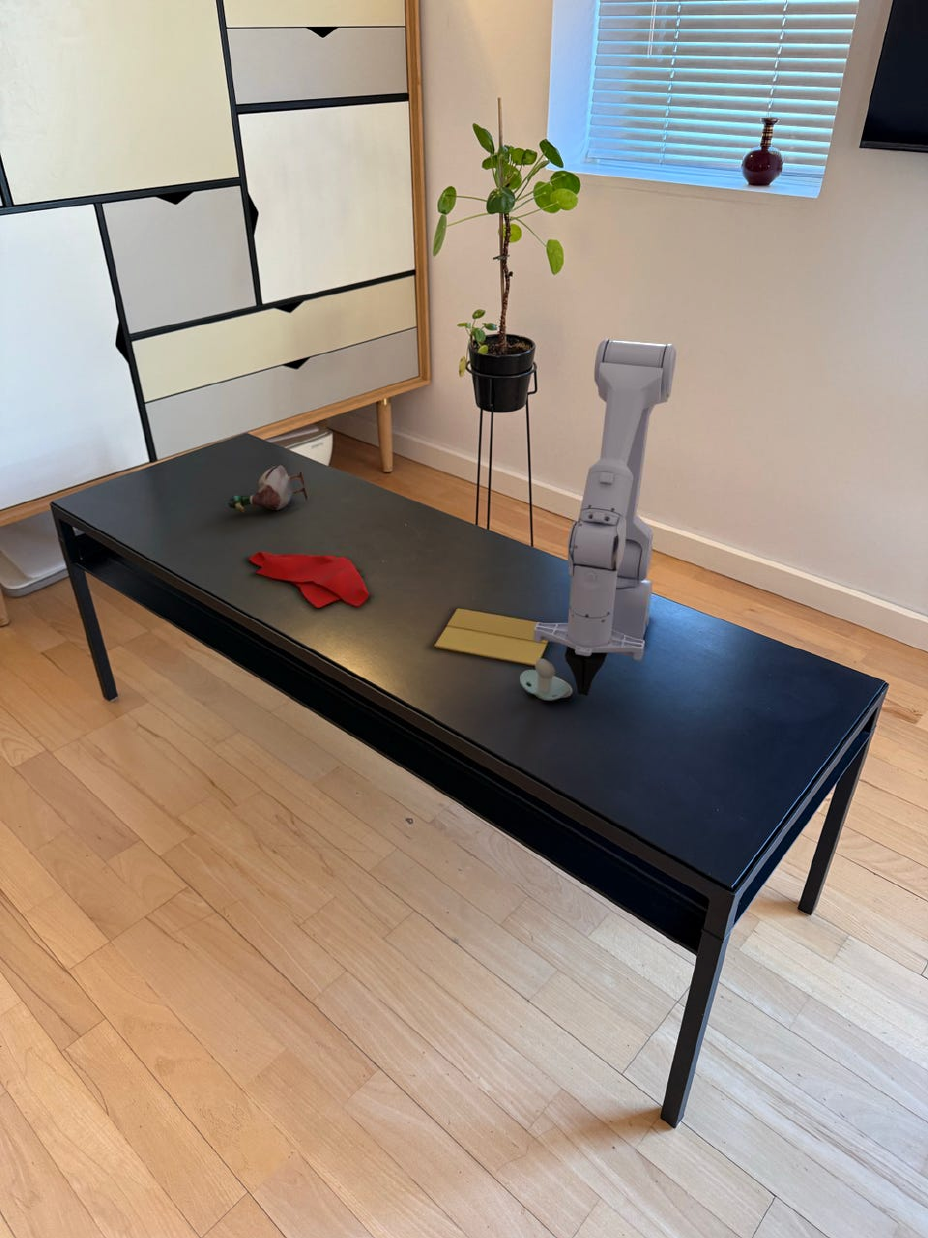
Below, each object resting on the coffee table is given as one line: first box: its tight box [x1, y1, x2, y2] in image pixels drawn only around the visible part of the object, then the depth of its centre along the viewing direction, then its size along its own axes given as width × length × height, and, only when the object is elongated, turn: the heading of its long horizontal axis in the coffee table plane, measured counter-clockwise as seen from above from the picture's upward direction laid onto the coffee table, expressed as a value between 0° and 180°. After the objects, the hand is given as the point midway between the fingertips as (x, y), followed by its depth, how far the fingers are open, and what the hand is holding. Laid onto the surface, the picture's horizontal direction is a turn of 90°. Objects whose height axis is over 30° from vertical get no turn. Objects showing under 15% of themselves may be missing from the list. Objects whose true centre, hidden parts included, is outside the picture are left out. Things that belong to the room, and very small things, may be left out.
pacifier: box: [519, 658, 573, 701], centre depth 123 cm, size 7×6×6 cm
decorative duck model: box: [227, 464, 309, 513], centre depth 175 cm, size 15×8×15 cm
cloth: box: [249, 551, 370, 609], centre depth 152 cm, size 26×14×2 cm, turn 45°
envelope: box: [433, 608, 550, 667], centre depth 136 cm, size 16×11×1 cm
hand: (584, 690), depth 122 cm, fingers closed
